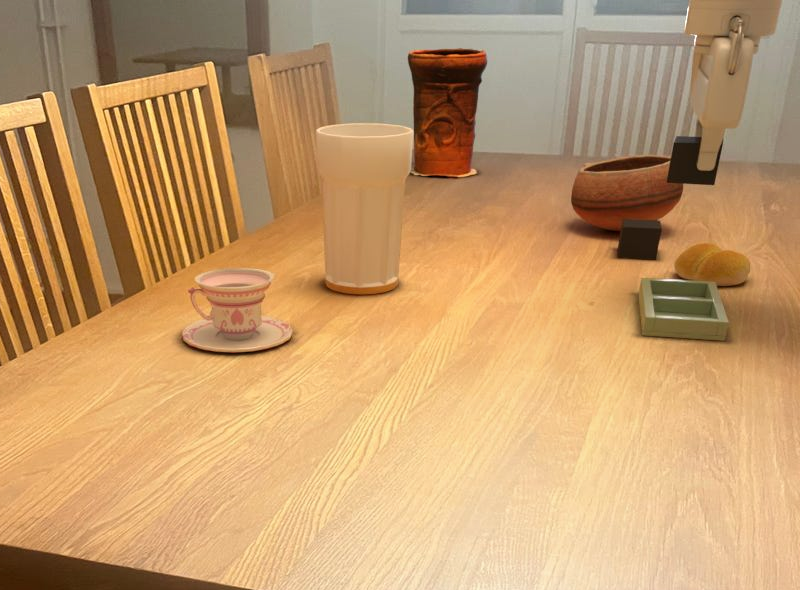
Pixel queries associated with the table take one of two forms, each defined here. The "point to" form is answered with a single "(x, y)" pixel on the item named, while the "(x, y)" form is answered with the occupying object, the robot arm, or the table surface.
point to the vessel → (445, 109)
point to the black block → (639, 239)
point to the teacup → (235, 312)
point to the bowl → (624, 190)
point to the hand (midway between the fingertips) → (702, 164)
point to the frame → (682, 309)
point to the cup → (363, 203)
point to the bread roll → (712, 265)
